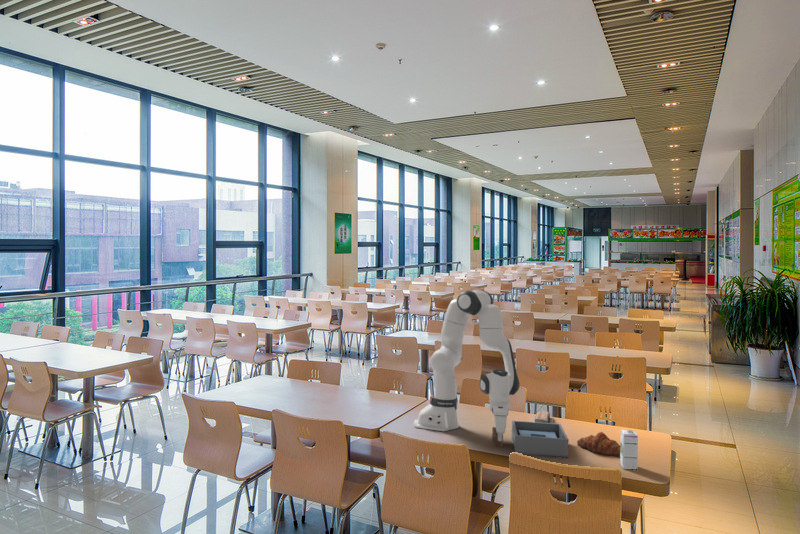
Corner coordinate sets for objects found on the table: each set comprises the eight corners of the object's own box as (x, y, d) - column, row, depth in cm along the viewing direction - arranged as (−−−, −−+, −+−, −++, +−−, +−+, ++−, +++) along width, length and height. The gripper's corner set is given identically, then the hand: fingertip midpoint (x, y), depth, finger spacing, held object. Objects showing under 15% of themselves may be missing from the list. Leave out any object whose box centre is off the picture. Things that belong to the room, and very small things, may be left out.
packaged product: (552, 420, 266) (531, 418, 270) (551, 430, 266) (531, 427, 270) (554, 410, 283) (534, 408, 287) (553, 420, 284) (534, 417, 287)
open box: (514, 454, 230) (515, 435, 230) (511, 437, 252) (512, 420, 252) (567, 458, 227) (568, 439, 227) (559, 441, 249) (560, 423, 249)
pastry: (612, 445, 246) (613, 427, 246) (628, 457, 231) (628, 439, 230) (576, 444, 245) (576, 427, 245) (589, 457, 230) (590, 438, 230)
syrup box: (637, 470, 216) (639, 434, 215) (622, 469, 217) (623, 433, 217) (634, 465, 221) (635, 430, 221) (619, 464, 222) (620, 429, 222)
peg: (492, 445, 240) (492, 430, 240) (492, 442, 245) (492, 427, 245) (502, 446, 240) (503, 431, 239) (502, 443, 244) (502, 427, 244)
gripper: (491, 400, 253) (490, 429, 253) (493, 412, 233) (493, 444, 233) (504, 400, 252) (504, 430, 252) (508, 413, 232) (507, 445, 232)
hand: (499, 437), depth 242 cm, fingers open, 8 cm apart
